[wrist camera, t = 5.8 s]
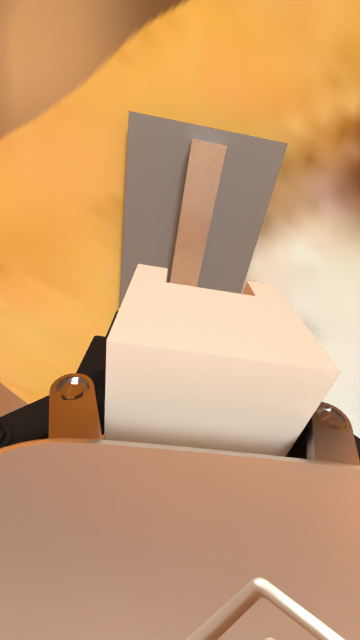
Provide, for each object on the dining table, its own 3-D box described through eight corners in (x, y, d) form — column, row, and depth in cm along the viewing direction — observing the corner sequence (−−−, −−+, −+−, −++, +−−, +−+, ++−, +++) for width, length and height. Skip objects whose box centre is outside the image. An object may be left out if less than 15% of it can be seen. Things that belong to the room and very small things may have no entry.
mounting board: (281, 144, 21) (287, 143, 20) (221, 342, 31) (222, 350, 30) (132, 114, 20) (129, 110, 19) (120, 328, 30) (118, 336, 29)
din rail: (223, 147, 20) (227, 145, 18) (183, 337, 29) (183, 347, 27) (191, 140, 20) (192, 138, 18) (161, 334, 29) (160, 344, 27)
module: (274, 285, 11) (359, 395, 6) (232, 395, 15) (261, 526, 10) (138, 263, 11) (97, 362, 5) (127, 383, 14) (97, 514, 9)
